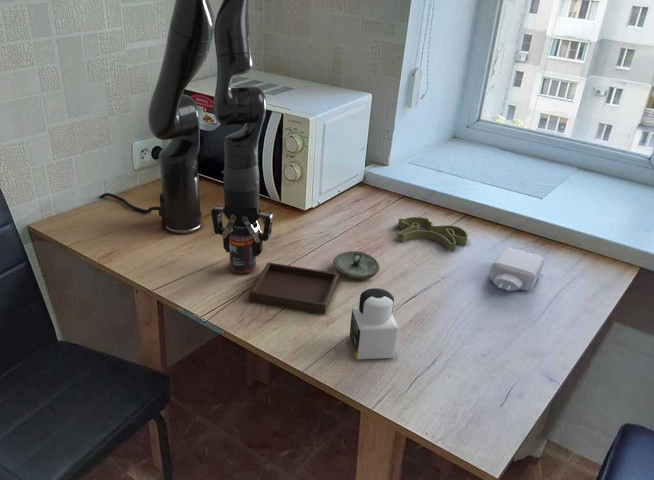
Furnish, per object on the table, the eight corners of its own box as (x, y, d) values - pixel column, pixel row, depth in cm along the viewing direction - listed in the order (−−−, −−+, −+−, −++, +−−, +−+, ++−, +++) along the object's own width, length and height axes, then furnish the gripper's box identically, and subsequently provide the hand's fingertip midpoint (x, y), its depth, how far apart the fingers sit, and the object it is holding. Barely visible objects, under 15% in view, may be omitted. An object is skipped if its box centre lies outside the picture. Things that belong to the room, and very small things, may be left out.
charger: (479, 291, 133) (499, 263, 144) (522, 305, 129) (540, 275, 139) (483, 273, 131) (503, 246, 141) (527, 285, 126) (545, 257, 137)
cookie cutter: (389, 239, 154) (390, 232, 153) (400, 220, 163) (401, 213, 162) (462, 253, 148) (464, 246, 147) (469, 233, 157) (471, 226, 156)
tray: (249, 301, 129) (249, 292, 128) (267, 270, 140) (267, 262, 139) (324, 314, 125) (325, 305, 124) (338, 282, 136) (338, 273, 135)
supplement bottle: (257, 262, 143) (257, 218, 137) (254, 275, 138) (253, 230, 132) (232, 261, 144) (230, 217, 138) (228, 274, 138) (226, 229, 133)
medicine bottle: (348, 337, 118) (353, 284, 112) (385, 335, 119) (392, 283, 113) (356, 360, 112) (362, 306, 106) (394, 358, 113) (402, 304, 107)
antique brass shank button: (350, 261, 147) (346, 242, 145) (387, 263, 141) (384, 244, 139) (327, 281, 140) (323, 261, 138) (366, 285, 134) (362, 264, 132)
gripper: (278, 181, 131) (277, 250, 140) (216, 173, 135) (219, 241, 143) (268, 194, 125) (268, 265, 134) (203, 186, 129) (207, 255, 137)
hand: (242, 252), depth 139 cm, fingers closed on supplement bottle, 6 cm apart
